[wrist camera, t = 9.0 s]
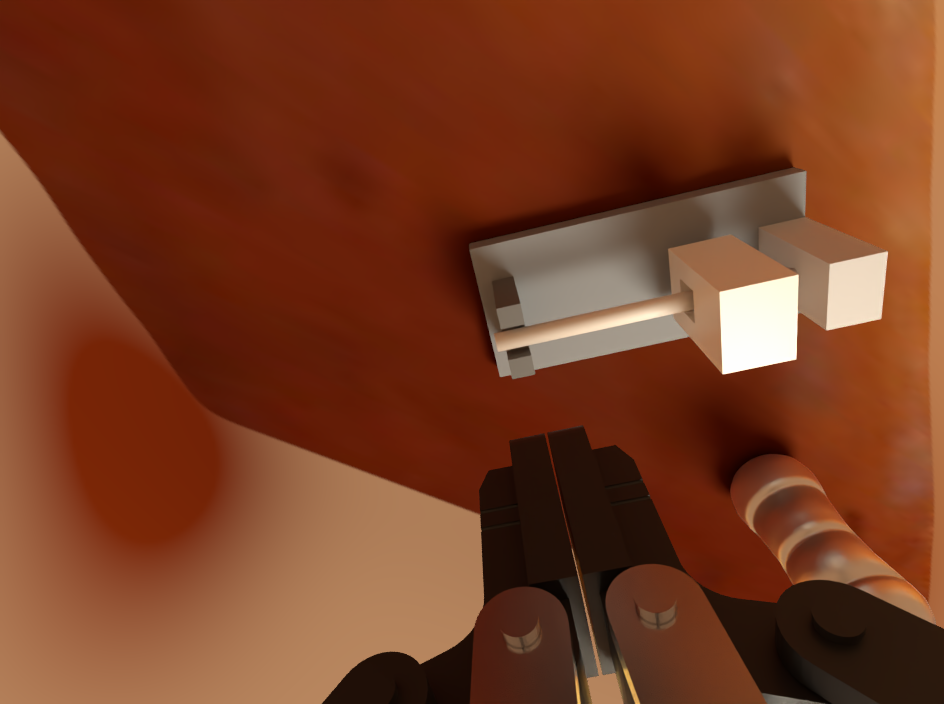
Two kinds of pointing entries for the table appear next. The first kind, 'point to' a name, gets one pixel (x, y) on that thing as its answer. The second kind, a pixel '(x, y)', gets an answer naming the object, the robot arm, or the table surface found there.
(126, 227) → the table surface
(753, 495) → the plastic bottle
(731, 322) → the sleeve
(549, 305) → the rod slider fixture
